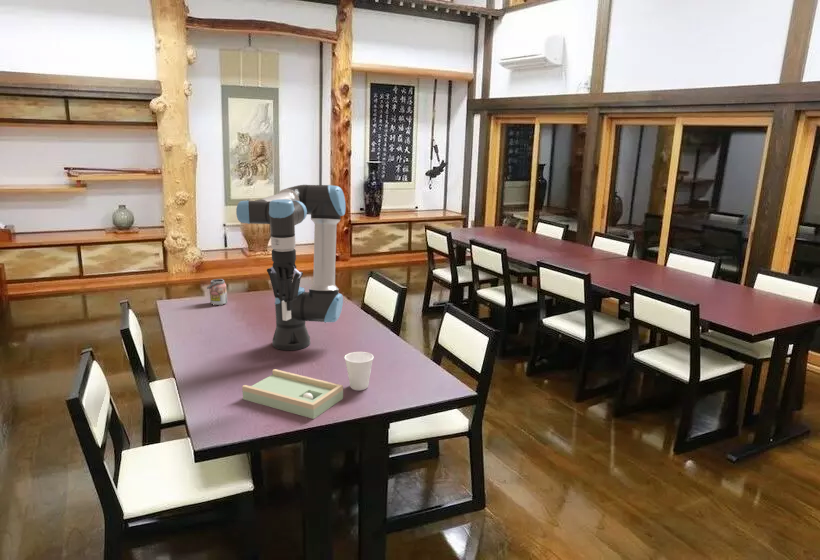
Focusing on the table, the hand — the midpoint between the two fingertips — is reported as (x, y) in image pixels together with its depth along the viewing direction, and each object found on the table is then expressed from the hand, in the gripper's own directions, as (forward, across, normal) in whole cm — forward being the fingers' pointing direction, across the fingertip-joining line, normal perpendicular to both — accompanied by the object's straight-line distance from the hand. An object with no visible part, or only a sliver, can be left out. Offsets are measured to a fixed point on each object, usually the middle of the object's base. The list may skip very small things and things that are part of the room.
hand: (287, 319), depth 190 cm
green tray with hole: (+24, +6, -6) cm, 26 cm away
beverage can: (+27, -94, +62) cm, 116 cm away
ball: (+23, +12, -7) cm, 27 cm away
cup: (+25, +20, +12) cm, 34 cm away
